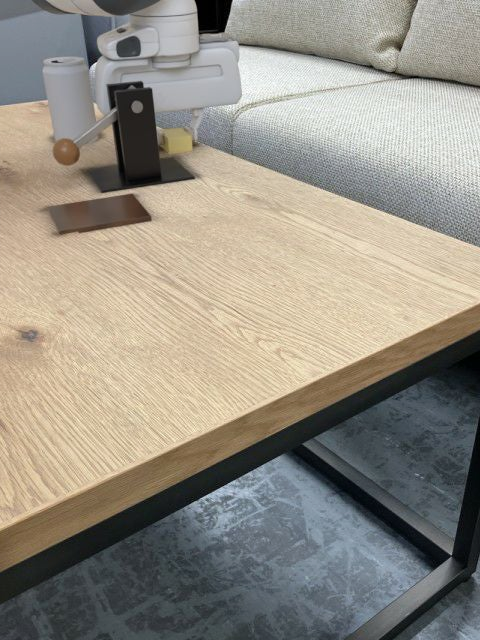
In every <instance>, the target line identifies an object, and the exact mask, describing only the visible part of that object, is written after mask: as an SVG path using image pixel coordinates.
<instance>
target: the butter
mask: <svg viewBox="0 0 480 640" xmlns="http://www.w3.org/2000/svg"><path fill="white" fill-rule="evenodd" d="M161 130H162V132H164V133H165V139H164V140H165V145H160V147H161V148H162V149H163V150H164V151H166V153H168V154H169V155H171V154H178V153H179V154H180V153H187V152H193V151H194V149H193V147H194V146H193V141H192V136H191V135H190V134H189V133H187V132H186V131H185V130H184V128H182V127H181V126H180V127H179V126H178V127H172V128H171V127H170V128H163V129H161Z"/></svg>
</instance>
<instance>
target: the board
mask: <svg viewBox="0 0 480 640" xmlns="http://www.w3.org/2000/svg"><path fill="white" fill-rule="evenodd" d="M46 210H47V212H48V214H49V217H50V218H51V220H52V223H53V225H54V226H55V228H56V230H57V233H58V234H59V235H65V234H70V233H78V234H82V233H83V234H84V233H88V232H95V231H100V230H107V229H112V228H118V227H125V226H130V225H136V224H141V223H147V222H152V215H151V214H150V213H149V212H148V211H147V209H146V208H145V207H144V205H142V203H141V202H140V201H139V200H138V198H137V197H136V196H135V195H134V193H127V194H121V195H114V196H107V197H101V198H95V199H90V200H89V199H87V200H80V201H75V202H69V203H62V204H55V205H49V206H46Z"/></svg>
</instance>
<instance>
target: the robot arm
mask: <svg viewBox="0 0 480 640" xmlns="http://www.w3.org/2000/svg"><path fill="white" fill-rule="evenodd" d="M31 1H32V2H33V3H34V4H35V5H36V6H37V7H39V8H40V9H41V10H43V11H45V12H47V13H50V14H53V15H59V16H60V15H86V16H92V17H109V18H120V17H124V16H129V17H128V18H129V21H128V22H127V23H124V24H122V25H120V26H118V27H116V28H114V29H111V30H109V31H107V32H104V33H102V34H100V35H98V37H97V39H96V45H97V49H98V52H100V54H101V56H100V57H99V58H98V59H97V62H96V64H95V69H94V90H95V92H94V93H95V102H96V106H97V109H98V111H99V112H100V114H102V115H103V116H104V115H106V114H107V113H108V112H110V107H109V100H108V93H107V86H106V85H107V84H115V83H125V82H135V81H142V82H143V85H144V88H146V87H150V88H152V92H153V101H154V110H155V114H160V113H171V112H178V111H179V112H180V111H187V110H189V113H190V114H191V115H192V117H191V120H190V122H189V125H188V126H184V127H183V129H184V130H185V131H186V132H187V133H189V134H190V135H191V136H192V142H198V141H199V135H198V129H199V127H200V125H201V123H202V121H203V119H204V116H205V112H204V109H206V108H214V107H222V106H223V107H224V106H231V105H238V103H240V100H241V99H242V97H243V89H242V81H241V79H242V78H241V75H240V67H239V64H238V63H239V61H240V45H239V42H238V40H237V39H236V37H234V36H233V35H230V34H229V33H228V32H218V33H199V19H198V7H197V4H196V1H195V0H31ZM162 130H163V129H157V139H158V147H159V146H160V145H165V140H164V139H165V133H164V132H162ZM160 147H161V146H160Z"/></svg>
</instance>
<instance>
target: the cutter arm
mask: <svg viewBox="0 0 480 640" xmlns="http://www.w3.org/2000/svg"><path fill="white" fill-rule="evenodd" d="M127 89H136V88H135V87H134V86H132V85H131V86H130V87H128V88H127ZM127 89H126V90H127ZM114 100H115V98H114ZM117 119H118V116H117V109H116V107H115V108H113V109H112V110H111V111H110V112H108V113H107V114H106V115H103V116H102V117H101V118H99V119H98V120H96V122H95V123H94V124H93V125H92V126H90V127H89V128H88V129H86V130H85V131H84V132H83V133H81V134H80V135H79V136H77V137H76V138H75V139H73V140H71V139H68V138H62V139H59V140H58V141H56V142H55V143H54V144H53V146H52V156H53V157H54V159H55V161H56V162H57V163H58V164H60V165H62V166H66V167H67V166H68V167H69V166H73V165H75V164H76V163H77V162H78V161H79V159H80V156H81V148H82V147H84V146H85V145H87V144H89V143H88V142H89V141H90V140H91V139H93V138H94V137H95V136H97V135H98V136H99V134H100V133H102V132H103V131H105V130H106V129H107V128H108V127H110V126H112V123H113V122H115V121H116V120H117ZM86 143H87V144H86Z"/></svg>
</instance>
